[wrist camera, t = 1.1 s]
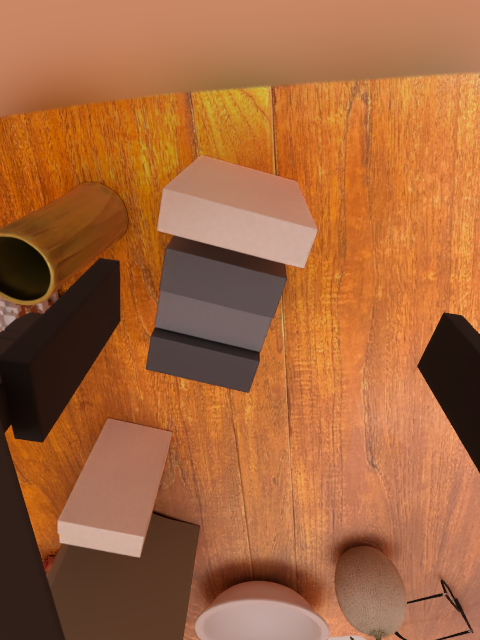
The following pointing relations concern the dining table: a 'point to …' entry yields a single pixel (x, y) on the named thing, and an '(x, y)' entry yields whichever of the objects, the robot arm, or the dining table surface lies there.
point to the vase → (58, 242)
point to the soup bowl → (260, 615)
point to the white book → (239, 211)
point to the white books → (116, 489)
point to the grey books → (213, 313)
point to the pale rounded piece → (22, 309)
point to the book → (127, 586)
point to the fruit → (370, 591)
